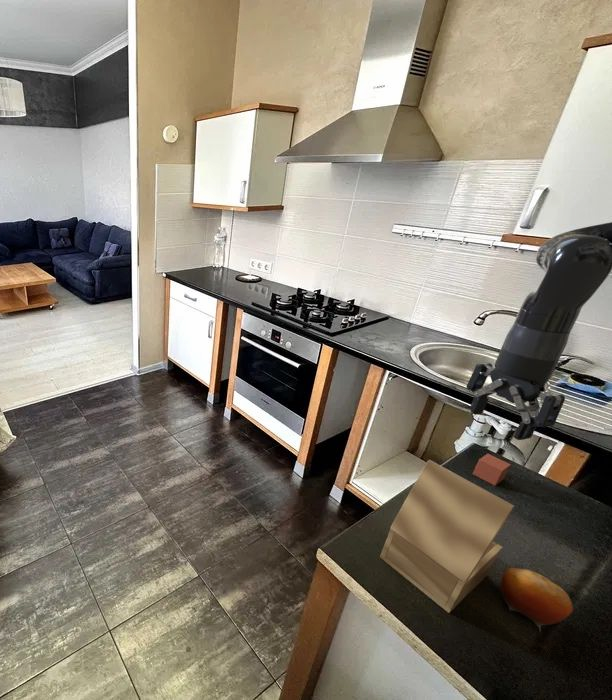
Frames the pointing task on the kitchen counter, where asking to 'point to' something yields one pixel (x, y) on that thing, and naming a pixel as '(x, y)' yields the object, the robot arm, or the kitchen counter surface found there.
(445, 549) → the lid
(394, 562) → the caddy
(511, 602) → the fruit
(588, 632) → the kitchen counter surface
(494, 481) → the block
